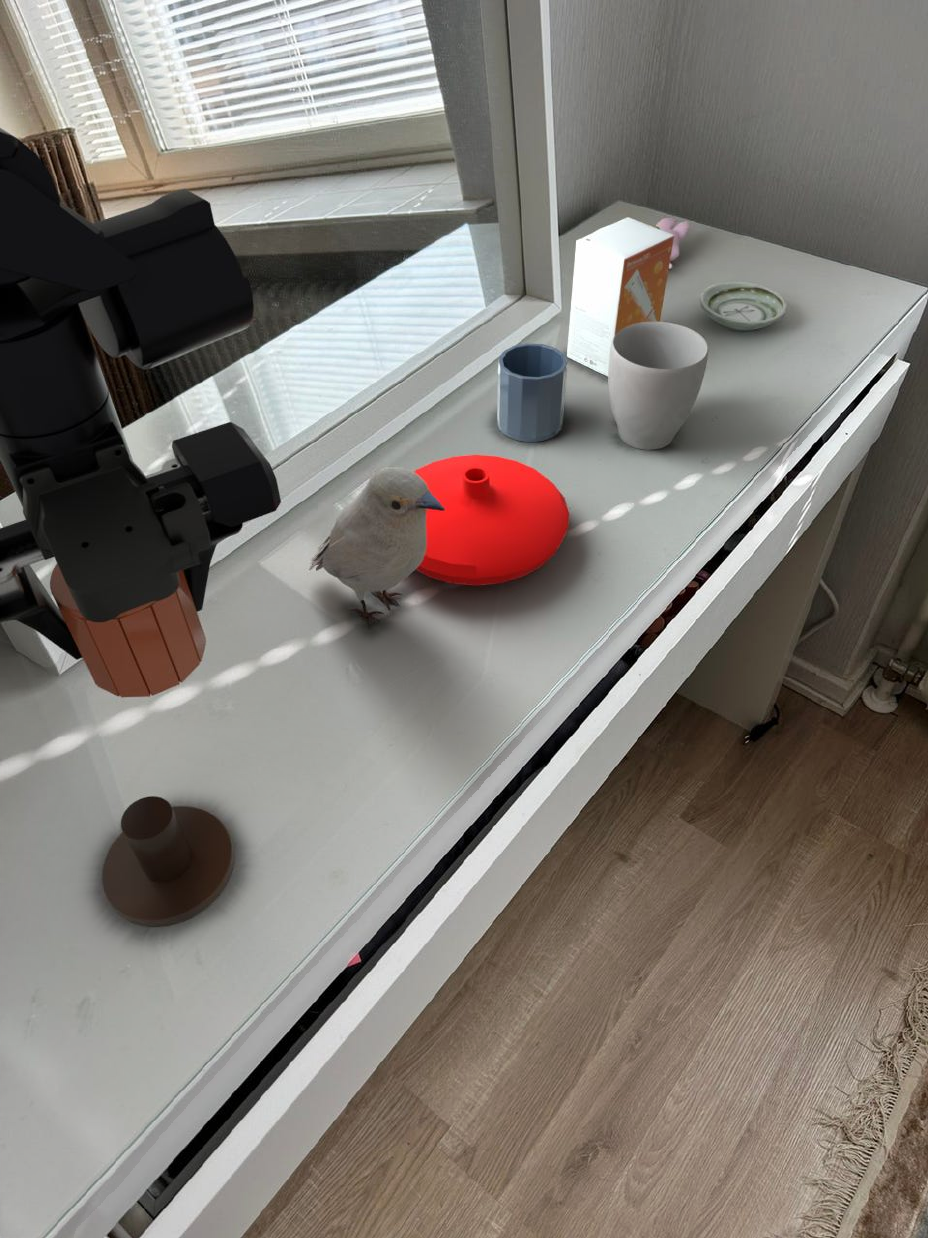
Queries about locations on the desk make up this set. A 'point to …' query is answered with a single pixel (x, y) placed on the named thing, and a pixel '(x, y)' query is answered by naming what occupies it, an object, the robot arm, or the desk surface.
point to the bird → (379, 535)
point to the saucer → (743, 305)
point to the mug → (654, 380)
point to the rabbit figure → (678, 234)
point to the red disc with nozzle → (490, 520)
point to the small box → (615, 287)
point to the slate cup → (531, 392)
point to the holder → (166, 862)
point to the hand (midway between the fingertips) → (138, 630)
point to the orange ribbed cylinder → (137, 641)
